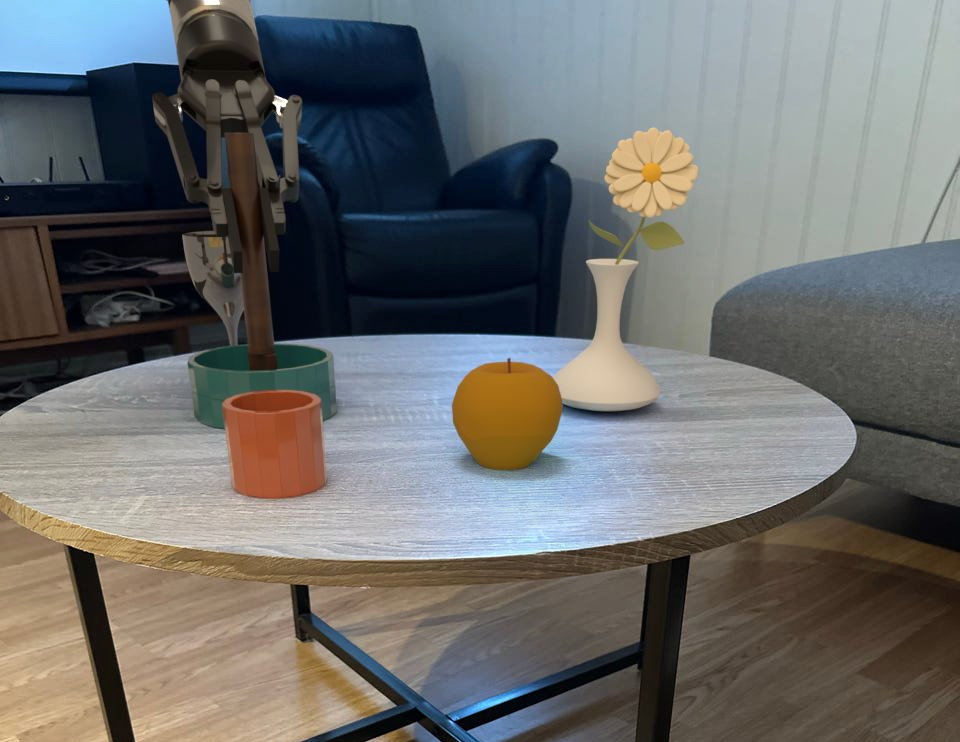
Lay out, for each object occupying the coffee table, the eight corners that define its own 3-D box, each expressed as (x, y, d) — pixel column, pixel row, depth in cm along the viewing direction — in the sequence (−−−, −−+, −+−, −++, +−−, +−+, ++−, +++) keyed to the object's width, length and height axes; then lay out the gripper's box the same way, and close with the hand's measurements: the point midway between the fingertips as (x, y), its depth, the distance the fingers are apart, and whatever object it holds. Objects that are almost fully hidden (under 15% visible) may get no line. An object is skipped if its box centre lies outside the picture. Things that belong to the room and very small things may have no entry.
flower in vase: (529, 412, 93) (538, 126, 81) (569, 388, 102) (582, 128, 90) (657, 428, 88) (687, 126, 76) (687, 401, 97) (717, 128, 86)
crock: (215, 493, 71) (203, 401, 68) (289, 472, 76) (281, 385, 73) (271, 515, 67) (261, 418, 64) (346, 492, 72) (340, 400, 68)
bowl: (169, 421, 90) (159, 356, 87) (281, 397, 98) (276, 338, 95) (251, 448, 82) (243, 378, 79) (365, 419, 90) (361, 356, 88)
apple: (577, 483, 74) (584, 367, 70) (467, 492, 72) (467, 373, 68) (541, 451, 82) (545, 345, 77) (441, 458, 79) (439, 350, 75)
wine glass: (252, 366, 112) (237, 229, 104) (285, 378, 106) (272, 234, 99) (189, 375, 107) (169, 233, 100) (220, 388, 102) (201, 238, 95)
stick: (244, 384, 89) (215, 132, 79) (265, 380, 90) (239, 132, 80) (265, 389, 87) (238, 132, 77) (286, 385, 88) (262, 132, 78)
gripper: (300, 84, 92) (342, 287, 85) (134, 81, 87) (166, 294, 81) (304, 13, 85) (349, 228, 78) (123, 6, 80) (157, 232, 74)
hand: (256, 261), depth 80 cm, fingers closed on stick, 2 cm apart
